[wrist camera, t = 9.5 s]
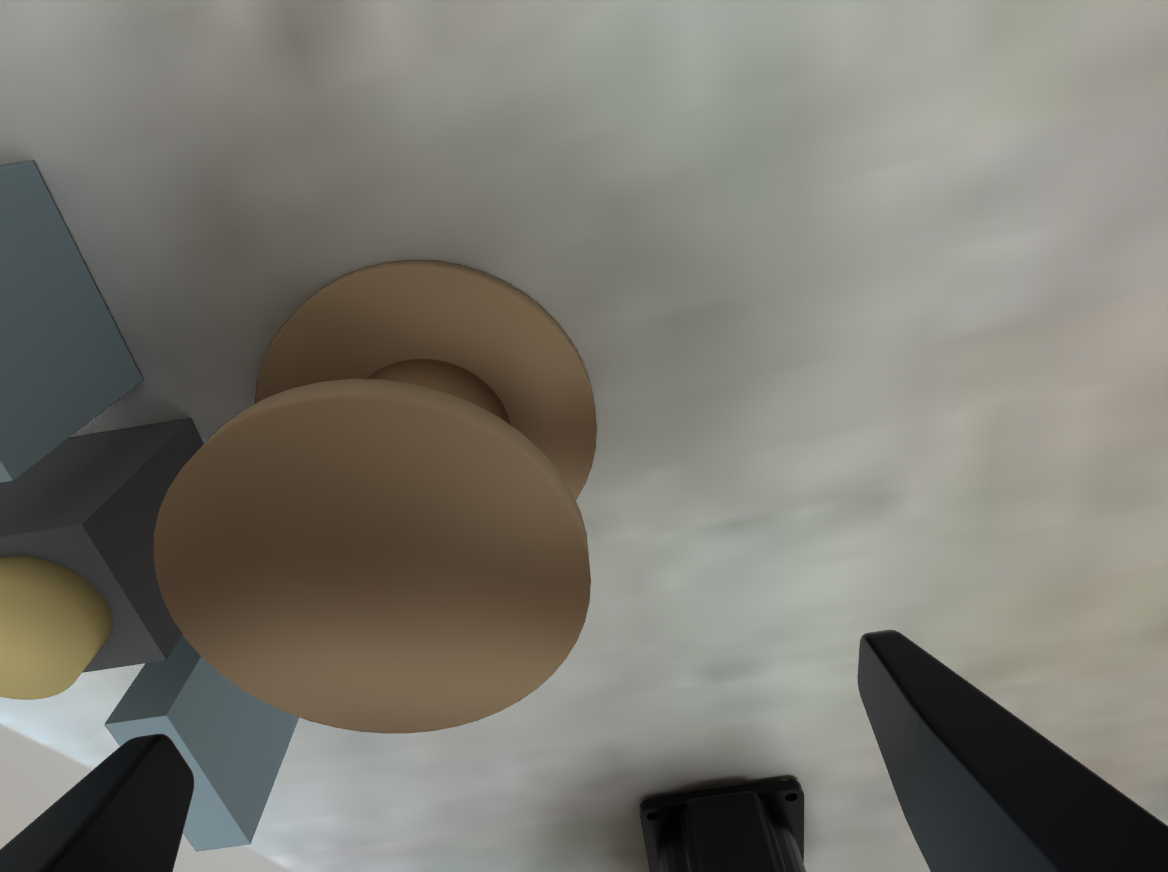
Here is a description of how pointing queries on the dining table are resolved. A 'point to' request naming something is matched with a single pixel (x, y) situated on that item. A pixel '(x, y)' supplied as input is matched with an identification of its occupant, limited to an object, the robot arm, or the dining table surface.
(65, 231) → the grey blocks
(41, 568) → the dark gray rectangular block
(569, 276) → the dining table surface
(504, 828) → the dining table surface
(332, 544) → the bobbin
